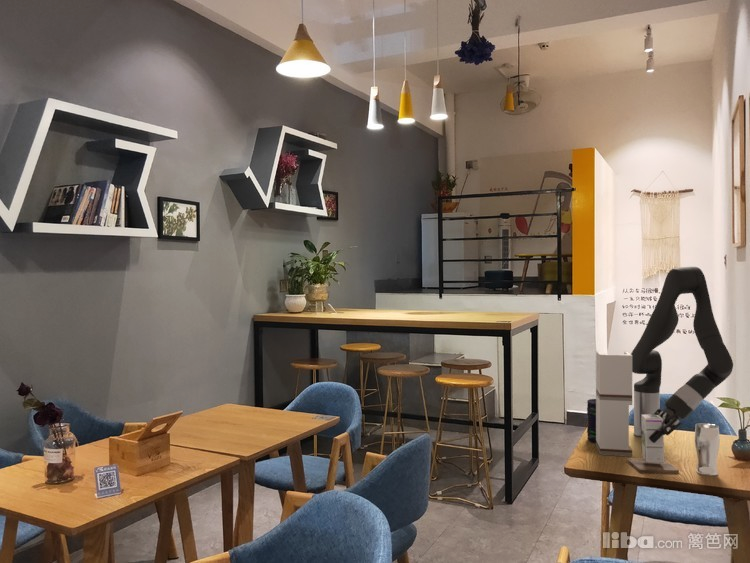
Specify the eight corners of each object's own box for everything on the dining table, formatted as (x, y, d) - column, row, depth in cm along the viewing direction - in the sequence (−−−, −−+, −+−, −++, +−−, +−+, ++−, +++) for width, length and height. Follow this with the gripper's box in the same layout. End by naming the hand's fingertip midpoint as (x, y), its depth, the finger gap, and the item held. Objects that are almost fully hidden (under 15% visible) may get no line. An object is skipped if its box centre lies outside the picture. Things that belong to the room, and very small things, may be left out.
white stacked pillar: (632, 456, 214) (632, 355, 214) (599, 454, 217) (599, 354, 216) (626, 447, 226) (626, 351, 225) (596, 445, 228) (595, 350, 228)
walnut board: (626, 461, 208) (626, 458, 208) (663, 461, 208) (663, 459, 208) (640, 473, 196) (640, 469, 196) (678, 473, 196) (678, 470, 196)
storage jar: (619, 440, 234) (619, 401, 234) (606, 445, 228) (606, 405, 227) (595, 435, 242) (594, 397, 241) (582, 440, 235) (581, 401, 235)
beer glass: (711, 469, 200) (711, 422, 200) (724, 476, 193) (724, 428, 193) (690, 469, 200) (690, 423, 199) (702, 476, 193) (702, 428, 193)
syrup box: (664, 463, 199) (664, 418, 198) (645, 462, 200) (644, 417, 200) (660, 458, 204) (659, 414, 204) (641, 457, 205) (640, 413, 205)
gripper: (666, 389, 209) (630, 424, 209) (685, 398, 194) (647, 435, 195) (682, 405, 208) (646, 440, 209) (702, 414, 194) (664, 452, 195)
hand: (647, 437), depth 202 cm, fingers closed on syrup box, 6 cm apart
